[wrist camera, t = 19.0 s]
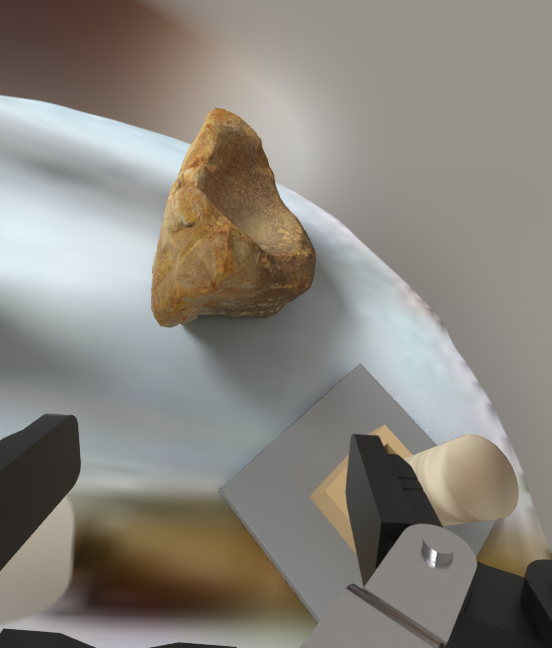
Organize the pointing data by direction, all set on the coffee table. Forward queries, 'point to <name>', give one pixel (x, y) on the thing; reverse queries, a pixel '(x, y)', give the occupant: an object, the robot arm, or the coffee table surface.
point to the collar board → (324, 489)
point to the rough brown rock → (227, 232)
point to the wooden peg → (467, 480)
